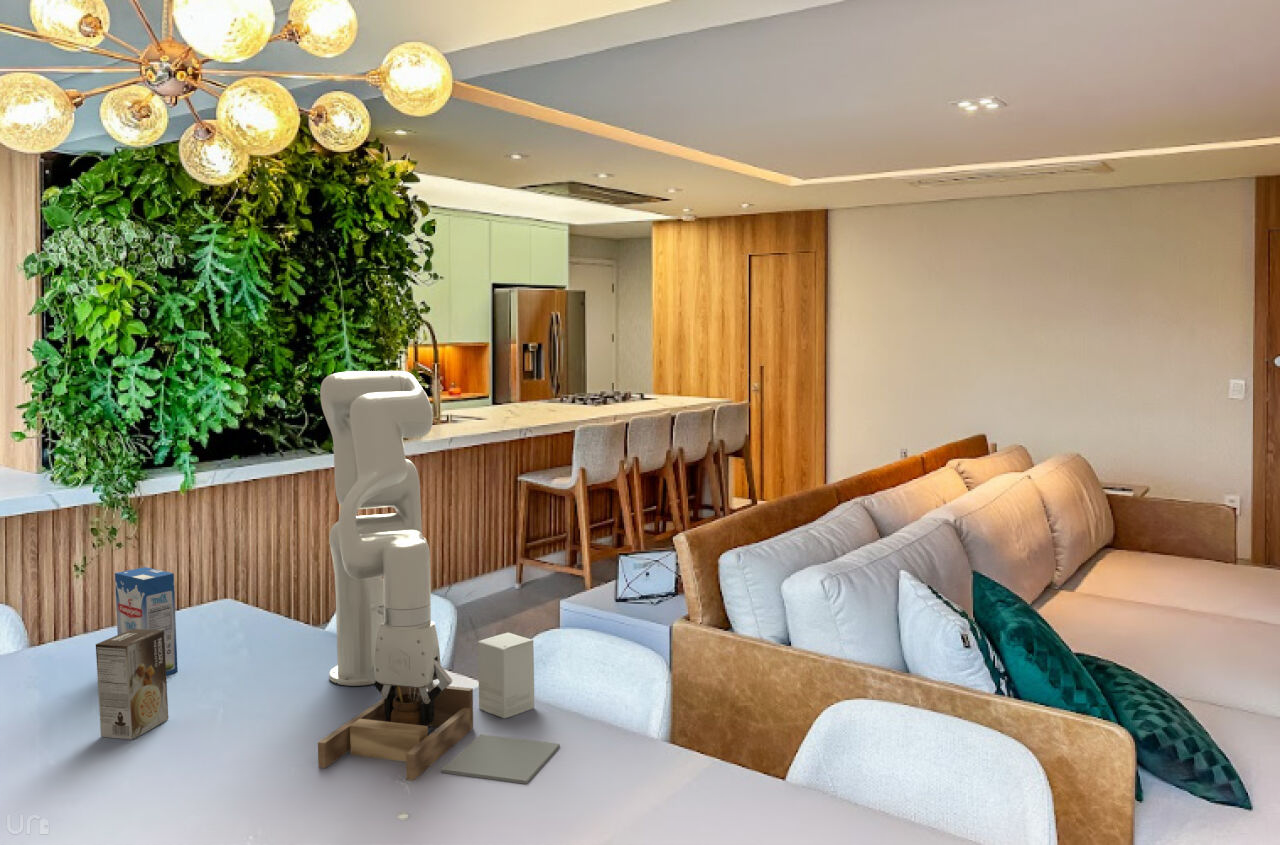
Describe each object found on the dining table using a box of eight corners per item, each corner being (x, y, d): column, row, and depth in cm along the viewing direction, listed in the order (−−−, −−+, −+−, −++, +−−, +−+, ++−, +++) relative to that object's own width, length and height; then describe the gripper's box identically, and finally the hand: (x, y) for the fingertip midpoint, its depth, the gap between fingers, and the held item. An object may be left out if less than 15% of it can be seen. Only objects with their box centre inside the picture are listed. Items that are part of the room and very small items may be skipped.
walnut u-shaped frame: (387, 718, 173) (386, 679, 173) (473, 728, 169) (472, 688, 168) (318, 767, 154) (317, 723, 153) (413, 780, 149) (412, 735, 149)
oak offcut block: (360, 748, 161) (359, 718, 161) (428, 756, 158) (427, 726, 158) (350, 756, 158) (350, 725, 158) (419, 764, 155) (418, 733, 155)
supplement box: (535, 708, 178) (535, 639, 177) (503, 719, 173) (502, 649, 172) (509, 698, 183) (508, 631, 182) (477, 708, 178) (476, 640, 177)
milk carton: (177, 672, 197) (174, 573, 195) (148, 681, 192) (143, 579, 190) (148, 663, 202) (144, 566, 200) (119, 672, 197) (114, 573, 195)
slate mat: (480, 737, 165) (480, 734, 165) (559, 746, 161) (559, 743, 161) (441, 772, 152) (441, 769, 152) (526, 783, 148) (526, 780, 148)
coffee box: (137, 717, 174) (133, 627, 172) (169, 719, 172) (166, 629, 171) (98, 737, 165) (94, 643, 163) (132, 740, 164) (128, 645, 162)
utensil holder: (409, 749, 160) (408, 677, 159) (382, 740, 164) (380, 670, 163) (435, 737, 165) (434, 666, 164) (408, 728, 169) (407, 660, 168)
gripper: (348, 617, 161) (351, 725, 163) (444, 625, 157) (446, 736, 158) (373, 605, 168) (375, 708, 170) (465, 612, 164) (467, 719, 165)
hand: (409, 720), depth 164 cm, fingers closed on utensil holder, 5 cm apart
